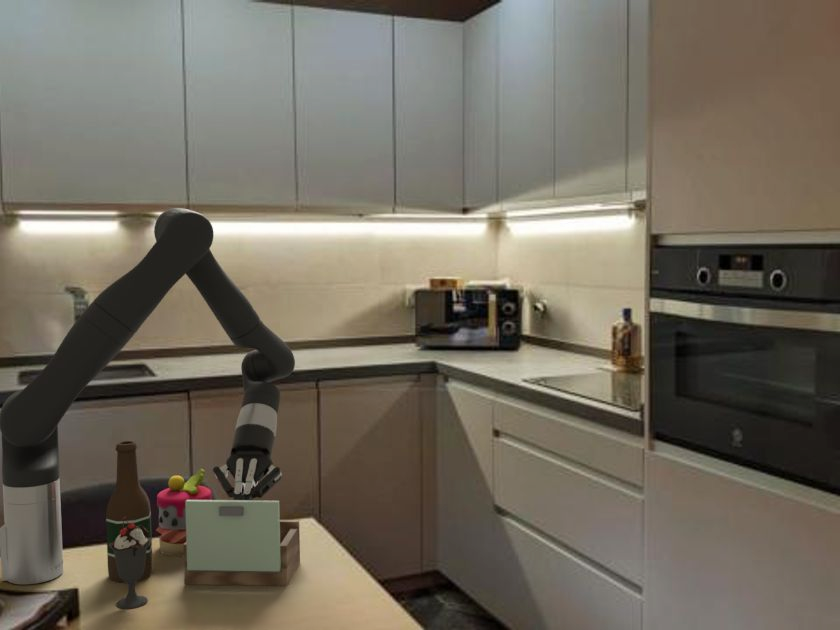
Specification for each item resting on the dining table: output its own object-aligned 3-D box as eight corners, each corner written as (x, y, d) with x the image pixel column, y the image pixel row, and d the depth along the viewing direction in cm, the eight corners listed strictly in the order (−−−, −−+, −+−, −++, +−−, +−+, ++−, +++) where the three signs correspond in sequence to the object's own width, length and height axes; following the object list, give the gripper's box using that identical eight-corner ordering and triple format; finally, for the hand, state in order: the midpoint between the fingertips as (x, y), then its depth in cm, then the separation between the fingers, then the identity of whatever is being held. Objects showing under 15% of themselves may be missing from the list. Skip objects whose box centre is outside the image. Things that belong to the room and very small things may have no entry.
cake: (165, 560, 164) (163, 481, 162) (152, 543, 173) (149, 469, 171) (220, 550, 169) (218, 473, 168) (204, 534, 178) (202, 462, 177)
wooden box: (184, 583, 152) (183, 538, 151) (204, 560, 163) (203, 518, 162) (287, 585, 151) (286, 540, 150) (300, 562, 162) (299, 519, 161)
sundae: (114, 614, 139) (111, 522, 138) (108, 599, 145) (104, 510, 144) (156, 606, 142) (153, 515, 141) (148, 592, 148) (146, 505, 147)
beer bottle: (139, 584, 151) (135, 448, 150) (98, 581, 153) (93, 446, 151) (161, 568, 159) (157, 438, 157) (122, 565, 161) (118, 437, 159)
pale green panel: (185, 573, 149) (183, 502, 148) (189, 570, 151) (187, 499, 150) (278, 575, 148) (277, 503, 147) (280, 571, 150) (279, 500, 149)
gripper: (216, 422, 163) (197, 506, 151) (286, 422, 162) (272, 507, 151) (224, 443, 168) (207, 526, 157) (292, 444, 167) (280, 527, 156)
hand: (239, 516), depth 154 cm, fingers closed
